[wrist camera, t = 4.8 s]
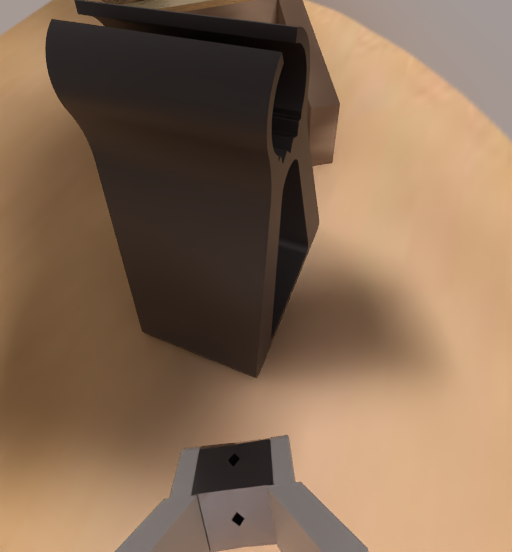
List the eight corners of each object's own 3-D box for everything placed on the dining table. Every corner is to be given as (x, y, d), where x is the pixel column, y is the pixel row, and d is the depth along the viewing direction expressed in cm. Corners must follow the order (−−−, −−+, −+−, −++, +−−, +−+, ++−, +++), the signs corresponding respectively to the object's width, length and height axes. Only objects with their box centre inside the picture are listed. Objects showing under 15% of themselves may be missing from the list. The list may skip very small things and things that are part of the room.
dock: (124, 193, 22) (88, 135, 18) (136, 68, 29) (111, 5, 25) (332, 162, 22) (340, 96, 18) (295, 42, 28) (296, -25, 24)
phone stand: (222, 199, 21) (155, -68, 11) (319, 226, 20) (352, -56, 9) (144, 334, 17) (-79, 125, 7) (256, 380, 16) (186, 203, 5)
